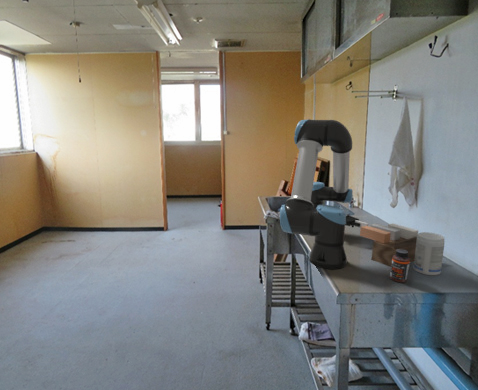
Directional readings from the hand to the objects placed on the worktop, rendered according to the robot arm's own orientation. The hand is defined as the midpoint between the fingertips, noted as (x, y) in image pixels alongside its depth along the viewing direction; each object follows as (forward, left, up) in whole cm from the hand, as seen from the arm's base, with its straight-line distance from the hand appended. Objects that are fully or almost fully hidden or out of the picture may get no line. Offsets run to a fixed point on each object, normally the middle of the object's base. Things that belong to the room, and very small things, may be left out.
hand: (367, 226), depth 160 cm
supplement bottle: (-5, -34, -10) cm, 36 cm away
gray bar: (+4, -8, -2) cm, 9 cm away
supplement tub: (+11, -28, -10) cm, 32 cm away
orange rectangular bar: (-3, -11, -2) cm, 12 cm away
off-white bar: (+12, -9, -2) cm, 15 cm away
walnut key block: (+7, -15, -10) cm, 19 cm away
